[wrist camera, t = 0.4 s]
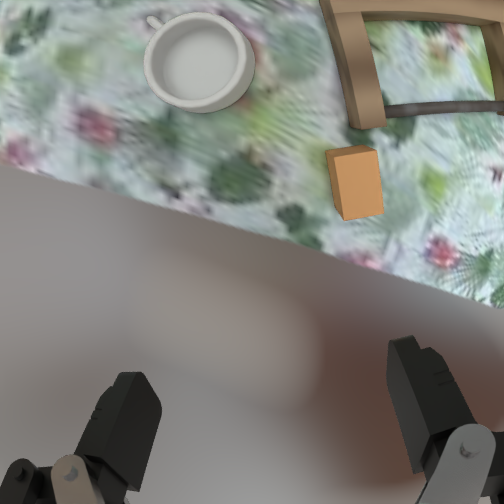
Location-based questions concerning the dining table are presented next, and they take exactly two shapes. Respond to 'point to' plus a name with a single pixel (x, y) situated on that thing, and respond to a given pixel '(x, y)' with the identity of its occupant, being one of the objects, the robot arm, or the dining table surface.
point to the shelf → (362, 63)
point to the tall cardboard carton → (355, 181)
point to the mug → (198, 62)
